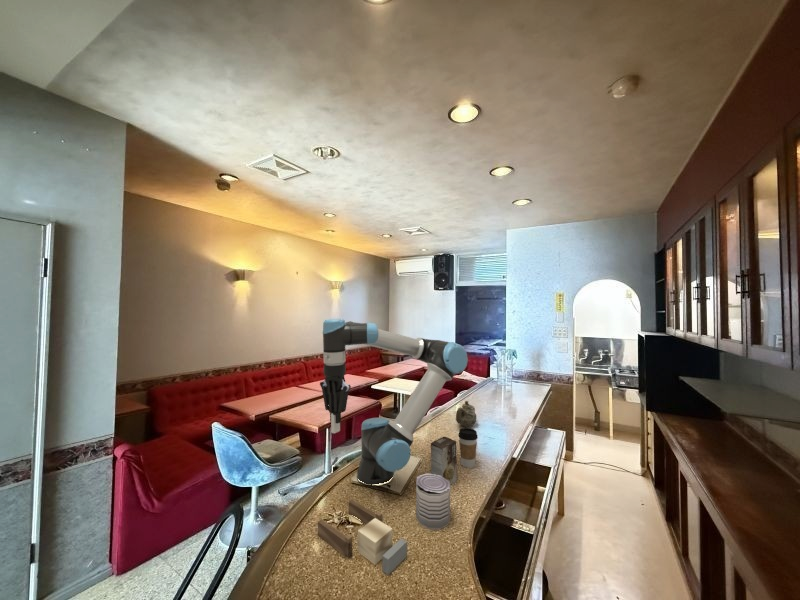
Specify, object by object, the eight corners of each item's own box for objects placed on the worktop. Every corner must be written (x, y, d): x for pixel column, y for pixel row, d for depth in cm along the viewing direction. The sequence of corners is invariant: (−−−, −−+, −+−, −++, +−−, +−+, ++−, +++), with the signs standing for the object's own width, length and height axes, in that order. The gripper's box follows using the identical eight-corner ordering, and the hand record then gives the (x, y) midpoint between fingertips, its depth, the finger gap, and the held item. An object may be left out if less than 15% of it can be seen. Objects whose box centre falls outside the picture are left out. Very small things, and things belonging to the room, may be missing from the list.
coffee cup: (454, 464, 137) (454, 430, 137) (464, 457, 143) (464, 425, 143) (471, 471, 131) (471, 435, 131) (481, 464, 137) (481, 430, 137)
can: (415, 506, 108) (415, 471, 108) (448, 506, 108) (448, 472, 108) (416, 529, 97) (416, 490, 97) (452, 530, 96) (452, 491, 97)
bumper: (401, 552, 88) (401, 538, 88) (406, 556, 86) (406, 541, 86) (382, 571, 81) (382, 555, 81) (388, 575, 80) (388, 559, 80)
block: (375, 538, 93) (375, 517, 93) (392, 549, 89) (392, 528, 89) (357, 552, 88) (357, 530, 88) (375, 565, 83) (375, 542, 83)
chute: (352, 511, 105) (352, 496, 105) (382, 530, 96) (382, 513, 96) (317, 535, 94) (317, 517, 94) (348, 558, 85) (348, 539, 85)
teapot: (464, 419, 193) (464, 394, 193) (482, 423, 186) (482, 398, 186) (448, 430, 175) (448, 403, 176) (467, 435, 168) (467, 407, 169)
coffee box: (444, 475, 128) (444, 435, 129) (457, 481, 124) (457, 440, 124) (430, 483, 122) (430, 442, 122) (443, 490, 117) (443, 447, 118)
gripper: (313, 363, 108) (314, 431, 107) (340, 367, 100) (341, 440, 100) (329, 360, 114) (330, 424, 114) (355, 363, 107) (357, 432, 106)
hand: (335, 431), depth 107 cm, fingers closed
